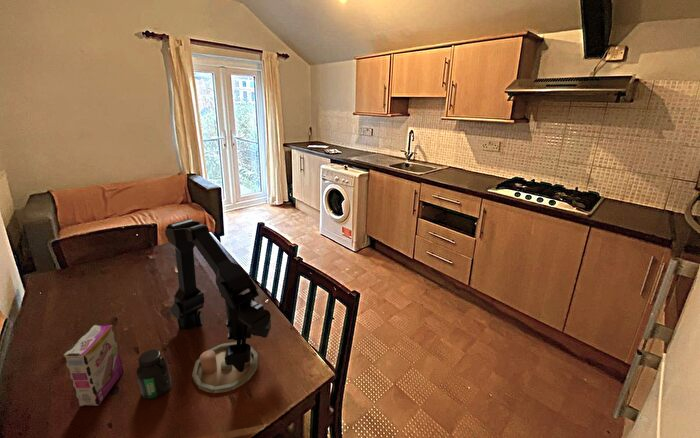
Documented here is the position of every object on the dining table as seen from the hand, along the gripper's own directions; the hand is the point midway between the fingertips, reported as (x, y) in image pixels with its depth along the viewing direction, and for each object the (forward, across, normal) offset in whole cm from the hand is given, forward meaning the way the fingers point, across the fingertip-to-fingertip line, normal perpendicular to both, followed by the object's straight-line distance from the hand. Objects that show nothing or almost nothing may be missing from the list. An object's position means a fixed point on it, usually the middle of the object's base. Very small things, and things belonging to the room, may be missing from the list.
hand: (242, 359), depth 93 cm
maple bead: (+2, 0, 0) cm, 2 cm away
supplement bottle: (+3, -4, +22) cm, 22 cm away
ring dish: (+3, 0, +4) cm, 5 cm away
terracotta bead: (+2, 0, +9) cm, 9 cm away
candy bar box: (+3, 0, +36) cm, 36 cm away
